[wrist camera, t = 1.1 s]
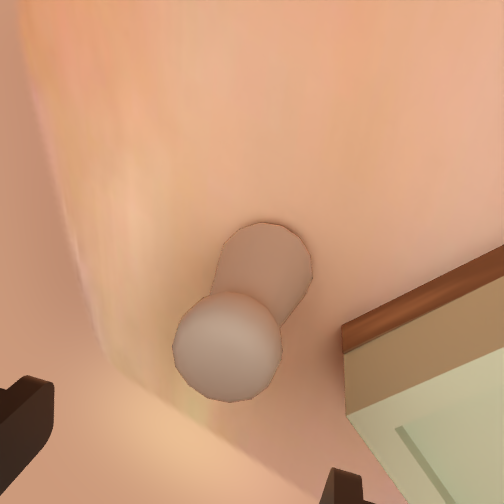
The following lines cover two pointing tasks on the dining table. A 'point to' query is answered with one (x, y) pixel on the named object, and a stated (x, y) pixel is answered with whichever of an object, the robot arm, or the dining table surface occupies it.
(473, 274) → the base block
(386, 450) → the top block
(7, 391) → the robot arm
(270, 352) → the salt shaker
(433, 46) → the dining table surface
